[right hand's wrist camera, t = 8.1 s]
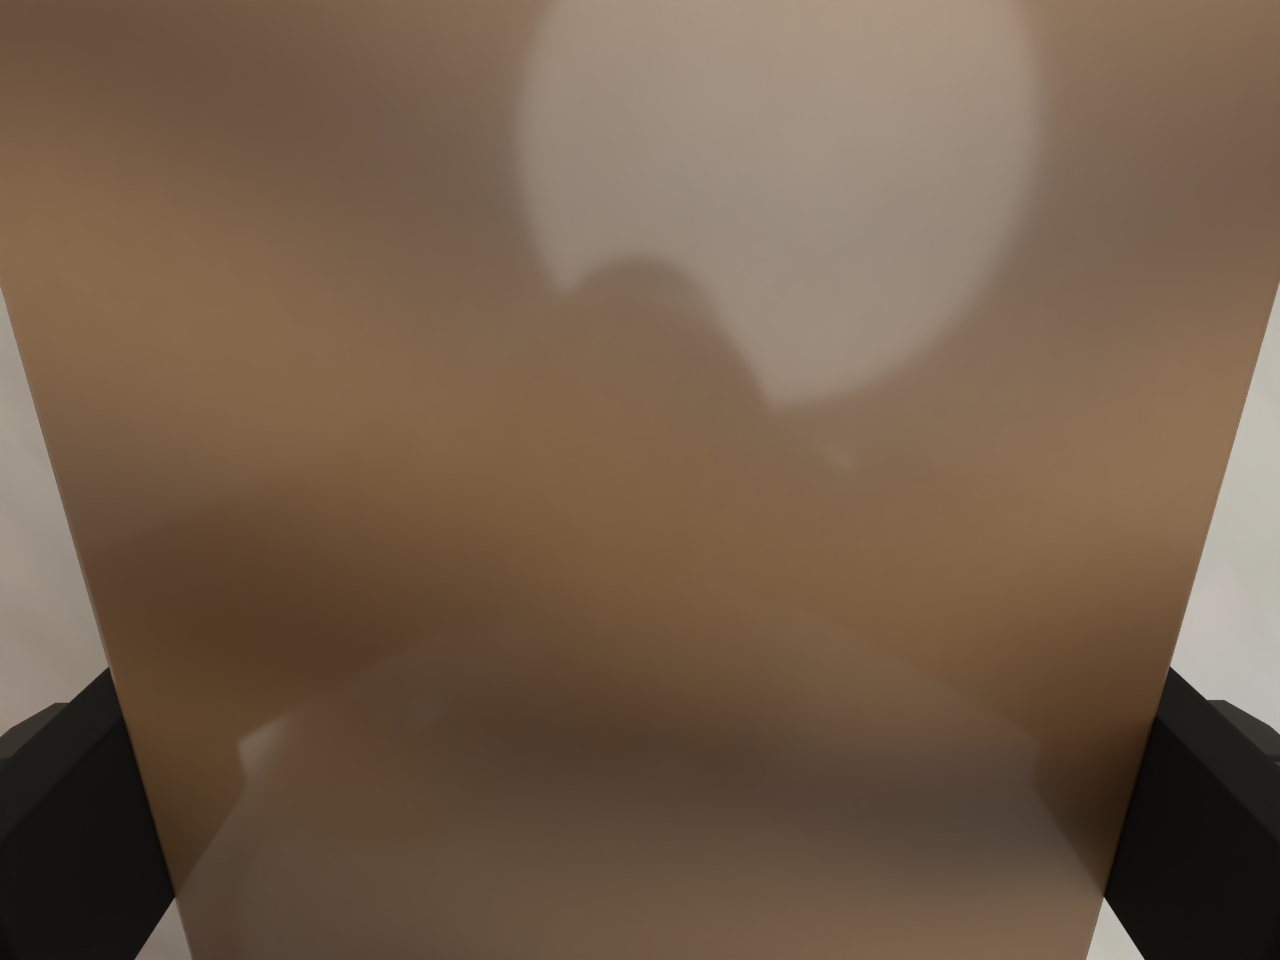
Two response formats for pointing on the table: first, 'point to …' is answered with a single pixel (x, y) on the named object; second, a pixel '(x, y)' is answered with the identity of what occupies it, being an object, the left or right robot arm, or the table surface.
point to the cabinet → (639, 449)
